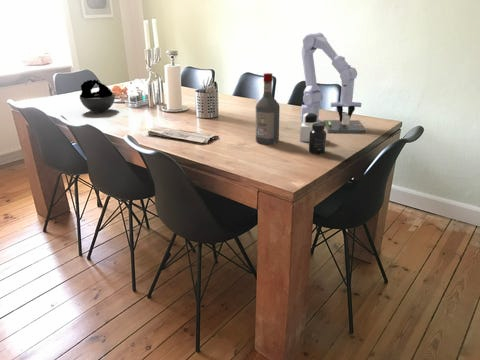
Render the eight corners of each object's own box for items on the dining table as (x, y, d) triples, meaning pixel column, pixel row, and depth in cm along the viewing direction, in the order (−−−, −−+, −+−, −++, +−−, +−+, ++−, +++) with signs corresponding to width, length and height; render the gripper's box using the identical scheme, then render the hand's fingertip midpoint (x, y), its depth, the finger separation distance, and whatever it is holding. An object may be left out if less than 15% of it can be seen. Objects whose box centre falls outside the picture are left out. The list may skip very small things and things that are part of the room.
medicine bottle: (317, 138, 182) (319, 112, 177) (315, 142, 175) (316, 116, 171) (302, 136, 184) (303, 111, 179) (299, 141, 178) (300, 115, 173)
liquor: (271, 145, 173) (272, 76, 161) (253, 142, 177) (253, 74, 165) (280, 140, 180) (282, 73, 168) (263, 137, 184) (263, 71, 172)
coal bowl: (87, 108, 245) (81, 78, 238) (119, 107, 247) (115, 76, 239) (78, 116, 227) (72, 83, 219) (113, 115, 229) (109, 82, 221)
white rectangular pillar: (342, 127, 192) (343, 116, 190) (339, 122, 200) (340, 111, 198) (348, 127, 192) (349, 116, 189) (345, 122, 200) (346, 111, 198)
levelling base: (327, 132, 189) (328, 127, 188) (323, 123, 205) (323, 117, 204) (365, 133, 187) (366, 127, 186) (358, 123, 204) (359, 117, 203)
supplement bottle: (306, 149, 167) (308, 122, 162) (322, 149, 167) (324, 121, 163) (310, 155, 161) (312, 126, 156) (327, 154, 161) (329, 126, 156)
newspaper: (218, 138, 185) (218, 131, 183) (204, 146, 174) (204, 139, 173) (159, 130, 200) (158, 123, 198) (142, 137, 189) (142, 129, 188)
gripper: (332, 95, 187) (330, 123, 192) (363, 95, 185) (360, 123, 191) (330, 92, 193) (328, 119, 198) (360, 92, 192) (358, 119, 197)
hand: (344, 121), depth 195 cm, fingers closed on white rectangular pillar, 3 cm apart
